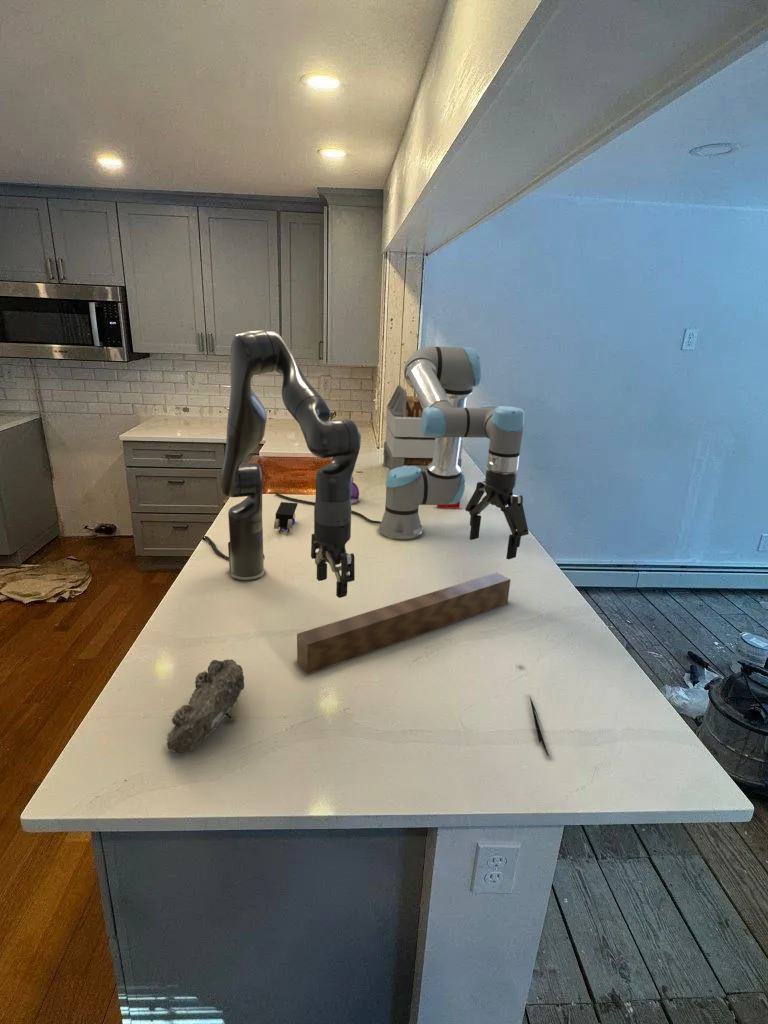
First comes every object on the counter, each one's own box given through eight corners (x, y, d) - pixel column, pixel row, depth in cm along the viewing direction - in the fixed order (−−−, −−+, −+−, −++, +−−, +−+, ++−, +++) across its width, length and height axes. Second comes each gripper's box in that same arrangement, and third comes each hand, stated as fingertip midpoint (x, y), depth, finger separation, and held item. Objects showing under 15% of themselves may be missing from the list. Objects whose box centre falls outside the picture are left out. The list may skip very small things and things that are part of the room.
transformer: (382, 463, 289) (386, 382, 275) (445, 464, 293) (451, 384, 279) (390, 482, 257) (394, 392, 243) (460, 483, 261) (468, 394, 247)
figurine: (342, 506, 224) (343, 469, 219) (333, 498, 233) (333, 463, 228) (364, 503, 228) (365, 467, 223) (353, 496, 237) (354, 461, 232)
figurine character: (293, 539, 194) (298, 519, 208) (292, 519, 191) (298, 500, 204) (273, 538, 194) (280, 518, 207) (272, 519, 191) (279, 500, 204)
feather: (521, 671, 128) (526, 665, 127) (548, 760, 101) (555, 753, 101) (514, 667, 128) (520, 661, 127) (540, 755, 101) (547, 748, 101)
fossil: (192, 660, 117) (244, 628, 112) (224, 691, 120) (276, 661, 115) (142, 746, 98) (202, 712, 93) (182, 779, 101) (242, 748, 96)
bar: (494, 595, 159) (497, 572, 157) (507, 603, 155) (510, 579, 153) (297, 662, 126) (296, 633, 123) (307, 674, 122) (307, 644, 119)
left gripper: (300, 509, 119) (300, 578, 125) (334, 532, 108) (332, 607, 114) (331, 504, 123) (330, 571, 129) (367, 525, 112) (364, 598, 118)
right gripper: (457, 459, 148) (449, 533, 156) (529, 486, 129) (517, 570, 137) (478, 456, 152) (470, 528, 160) (551, 482, 133) (538, 563, 141)
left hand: (331, 587), depth 121 cm, fingers open, 8 cm apart
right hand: (491, 548), depth 148 cm, fingers open, 13 cm apart
